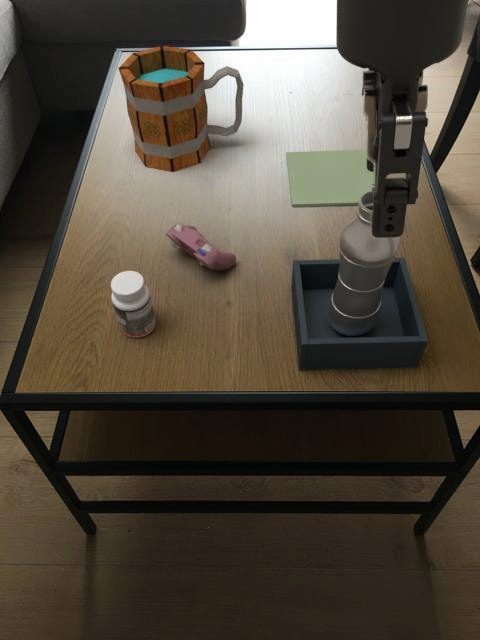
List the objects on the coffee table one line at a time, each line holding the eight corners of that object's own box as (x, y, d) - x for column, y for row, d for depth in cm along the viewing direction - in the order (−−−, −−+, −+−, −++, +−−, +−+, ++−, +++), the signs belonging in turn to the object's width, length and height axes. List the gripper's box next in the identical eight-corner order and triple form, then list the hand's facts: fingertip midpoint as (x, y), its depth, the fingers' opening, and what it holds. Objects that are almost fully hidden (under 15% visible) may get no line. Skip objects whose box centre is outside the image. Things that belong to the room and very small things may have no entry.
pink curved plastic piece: (176, 252, 82) (154, 232, 76) (195, 229, 82) (174, 206, 76) (221, 285, 78) (202, 266, 71) (241, 260, 78) (223, 239, 71)
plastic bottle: (317, 311, 72) (334, 189, 56) (363, 298, 73) (393, 175, 57) (337, 348, 68) (361, 229, 52) (385, 335, 69) (423, 213, 53)
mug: (133, 174, 92) (115, 90, 80) (136, 129, 100) (121, 48, 89) (247, 166, 92) (246, 82, 81) (242, 123, 101) (240, 41, 89)
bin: (396, 285, 75) (404, 257, 70) (417, 367, 66) (428, 341, 62) (291, 288, 75) (293, 260, 71) (298, 370, 66) (301, 344, 62)
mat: (377, 152, 94) (378, 149, 94) (392, 204, 85) (393, 201, 85) (286, 154, 94) (286, 151, 94) (291, 207, 86) (292, 204, 85)
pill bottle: (117, 316, 73) (103, 274, 66) (151, 306, 73) (140, 263, 67) (125, 343, 70) (111, 301, 63) (160, 332, 71) (150, 290, 64)
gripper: (501, 1, 25) (445, 260, 37) (455, -80, 34) (422, 148, 46) (338, 15, 26) (335, 261, 38) (336, -67, 36) (334, 152, 48)
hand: (383, 199), depth 42 cm, fingers open, 8 cm apart
